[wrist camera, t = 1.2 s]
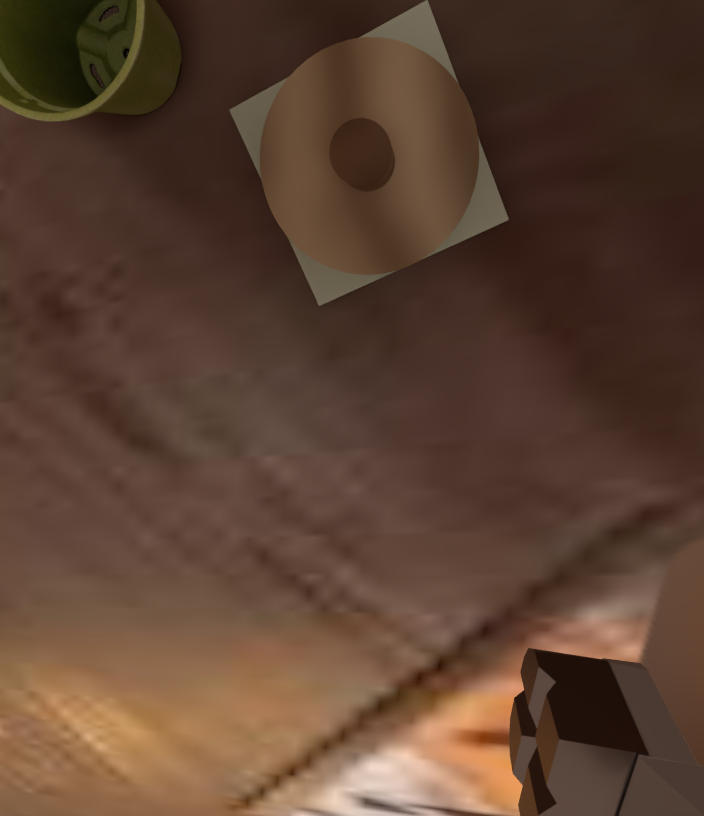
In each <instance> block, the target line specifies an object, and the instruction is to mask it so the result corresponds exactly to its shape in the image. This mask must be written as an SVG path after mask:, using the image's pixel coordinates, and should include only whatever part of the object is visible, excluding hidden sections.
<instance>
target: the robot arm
mask: <svg viewBox="0 0 704 816" xmlns="http://www.w3.org/2000/svg"><path fill="white" fill-rule="evenodd" d="M521 677H522V681H523V686H524V691H523V692H521V693H520V694H519V695H517V696H516V697H515V698H514V702H513V707H512V712H511V717H510V731H509V747H510V759H511V765H512V771H513V774H514V775H515V776H516V778H517V779H518V780H519V781H520V782H521V784H522V785H523V787H522V791H521V796H520V800H519V804H518V806H519V812H520V816H704V766H701V765H698V763H697V761H696V759H695V758H694V756H693V754H692V752H691V750H690V748H689V746H688V744H687V742H686V741H685V739H684V737H683V735H682V733H681V731H680V730H679V728H678V726H677V724H676V722H675V720H674V718H673V716H672V714H671V713H670V711H669V709H668V707H667V705H666V703H665V701H664V699H663V698H662V696H661V694H660V692H659V690H658V688H657V686H656V684H655V683H654V681H653V679H652V677H651V675H650V673H649V671H648V670H647V668H645V667H644V666H643V665H642V664H641V663H635V662H627V661H620V660H612V659H604V658H603V659H602V660H601V659H595V658H589V657H582V656H576V655H570V654H563V653H557V652H550V651H544V650H538V649H531V648H528V650H527V652H526V654H525V656H524V659H523V663H522V668H521Z"/></svg>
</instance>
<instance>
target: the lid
mask: <svg viewBox="0 0 704 816" xmlns="http://www.w3.org/2000/svg"><path fill="white" fill-rule="evenodd" d="M478 167H479V139H478V133H477V127H476V123H475V119H474V116H473V113H472V109H471V107H470V105H469V103H468V100H467V98H466V96H465V94H464V92H463V91H462V89H461V88H460V86H459V84H458V83H457V81H456V80H455V79H454V78H453V76H452V75H451V74H450V73H449V72H448V70H447V69H446V68H444V67H443V66H442V65H441V64H440V63H439V62H438V61H437V60H436V59H434V58H433V57H431V56H430V55H428V54H427V53H426V52H424V51H422V50H420V49H418V48H416V47H414V46H412V45H410V44H407V43H404V42H401V41H398V40H394V39H388V38H381V37H362V38H356V39H349V40H346V41H343V42H339V43H336V44H333V45H331V46H329V47H327V48H325V49H323V50H321V51H319V52H318V53H316V54H315V55H313V56H311V57H310V58H308V59H307V60H306V61H305V62H304V63H303V64H301V65H300V66H299V67H298V68H297V69H296V70H295V71H294V72H293V73H292V74H291V75H290V77H289V78H288V79H287V80H286V81H285V83H284V84H283V86H282V87H281V89H280V90H279V92H278V93H277V95H276V97H275V99H274V101H273V103H272V105H271V107H270V109H269V112H268V115H267V118H266V120H265V124H264V128H263V132H262V137H261V146H260V172H261V179H262V185H263V189H264V193H265V196H266V199H267V202H268V204H269V207H270V210H271V212H272V214H273V215H274V217H275V219H276V221H277V223H278V225H279V226H280V227H281V229H282V230H283V232H284V233H285V234H286V236H287V237H288V238H289V239H290V240H291V241H292V242H293V243H294V244H295V246H297V247H298V248H299V249H300V250H301V251H303V252H304V253H305V254H306V255H308V256H309V257H311V258H312V259H314V260H315V261H317V262H319V263H321V264H323V265H325V266H327V267H329V268H332V269H335V270H338V271H341V272H346V273H351V274H360V275H374V274H384V273H388V272H393V271H397V270H400V269H402V268H405V267H408V266H410V265H412V264H414V263H416V262H418V261H420V260H422V259H423V258H425V257H426V256H427V255H429V254H430V253H432V252H433V251H434V250H435V249H437V248H438V247H439V246H440V245H441V244H442V243H443V242H444V241H445V240H446V239H447V238H448V237H449V235H450V234H451V233H452V232H453V231H454V229H455V228H456V226H457V225H458V223H459V222H460V220H461V219H462V217H463V215H464V213H465V211H466V209H467V207H468V205H469V203H470V200H471V197H472V194H473V192H474V189H475V184H476V180H477V175H478Z"/></svg>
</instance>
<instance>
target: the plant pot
mask: <svg viewBox="0 0 704 816" xmlns="http://www.w3.org/2000/svg"><path fill="white" fill-rule="evenodd" d="M113 6H118V8H119V12H118V13H115V14H113V15H111V16H109V17H107V18H106V19H105V20H104V19H103V20H102V22H100V21H99V20H100V17H101V15H102V14H103V13H104V11H106V10H107V9H108V8H110V7H113ZM125 49H129V50H130V51H129V54H128V57H127V59H126V58H125V57H124V55H123V51H124V50H125ZM181 61H182V56H181V47H180V42H179V38H178V35H177V33H176V30H175V28H174V26H173V24H172V22H171V21H170V19H169V18H168V16H167V15H166V13H165V12H164V11H163V9H162V8H161V6H160V5H159V3H158V2H157V1H156V0H0V104H1V105H2V106H4V107H6V108H7V109H9V110H11V111H13V112H15V113H17V114H20V115H22V116H25V117H27V118H31V119H35V120H40V121H48V122H63V121H70V120H75V119H79V118H82V117H85V116H87V115H89V114H92V113H93V112H105V113H115V114H126V115H140V114H145V113H149V112H151V111H153V110H155V109H157V108H159V107H160V106H161V105H162V104H164V103H165V102H166V101H167V99H168V98H169V97H170V96H171V95H172V93H173V91H174V89H175V87H176V83H177V79H178V75H179V70H180V65H181ZM91 64H94V65H95V67H96V70H97V72H98V74H99V76H100V78H101V80H102V82H103V83H104V84H105V86H104V88H103V87H102V88H101V87H99V85H98V83H97V82H96V79H95V78H94V77H93V76H92V73H91V70H90V65H91Z"/></svg>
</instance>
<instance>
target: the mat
mask: <svg viewBox="0 0 704 816" xmlns="http://www.w3.org/2000/svg"><path fill="white" fill-rule="evenodd" d="M362 37H381V38H388V39H394V40H398V41H401V42H404V43H407V44H410V45H412V46H414V47H416V48H418V49H420V50H422V51H424V52H426V53H427V54H428V55H430V56H431V57H433V58H434V59H436V60H437V61H438V62H439V63H440V64H441V65H442V66H443V67H444V68H446V69H447V70H448V72H449V73H450V74H451V75H452V76H453V78H454V79H455V80H456V81H457V78H456V76H455V73H454V70H453V67H452V65H451V62H450V59H449V57H448V54H447V51H446V49H445V46H444V43H443V40H442V38H441V35H440V32H439V30H438V27H437V24H436V22H435V19H434V16H433V13H432V11H431V8H430V5H429V3H428V0H426V1H424V2H422V3H421V4H419V5H417V6H415V7H413V8H412V9H410V10H408V11H406V12H404V13H403V14H401V15H399V16H397V17H395V18H394V19H392V20H390V21H388V22H386V23H385V24H383V25H381V26H379V27H377V28H376V29H374V30H372V31H370V32H368V33H367V34H365V35H363V36H361V37H359V38H362ZM289 77H290V76H289ZM289 77H287V78H286V79H284V80H282V81H280V82H278V83H277V84H275V85H273V86H271V87H269V88H268V89H266V90H264V91H262V92H260V93H259V94H257V95H255V96H253V97H251V98H250V99H248V100H246V101H244V102H242V103H241V104H239V105H237V106H235V107H233V108H232V109H230V113H231V115H232V117H233V119H234V121H235V124H236V126H237V128H238V130H239V132H240V134H241V137H242V139H243V141H244V143H245V145H246V148H247V150H248V152H249V154H250V156H251V158H252V161H253V163H254V165H255V167H256V169H257V172H258V174H259V176H260V178H261V172H260V146H261V137H262V132H263V128H264V124H265V120H266V118H267V115H268V112H269V109H270V107H271V105H272V103H273V101H274V99H275V97H276V95H277V93H278V92H279V90H280V89H281V87H282V86H283V84H284V83H285V81H286V80H287V79H288V78H289ZM457 83H458V81H457ZM478 139H479V138H478ZM261 180H262V179H261ZM508 220H509V219H508V216H507V213H506V210H505V208H504V205H503V202H502V200H501V197H500V194H499V192H498V189H497V186H496V184H495V181H494V178H493V175H492V173H491V170H490V167H489V165H488V162H487V159H486V157H485V154H484V151H483V148H482V146H481V143H480V140H479V167H478V175H477V180H476V184H475V189H474V192H473V194H472V197H471V200H470V203H469V205H468V207H467V209H466V211H465V213H464V215H463V217H462V219H461V220H460V222H459V223H458V225H457V226H456V228H455V229H454V231H453V232H452V233H451V234H450V235H449V237H448V238H447V239H446V240H445V241H444V242H443V243H442V244H441V245H440V246H439V247H438V248H437V249H435V250H434V251H433V252H432V253H430V254H429V255H427V256H426V257H428V256H431V255H433V254H435V253H437V252H439V251H442V250H444V249H446V248H448V247H450V246H453V245H455V244H457V243H459V242H461V241H464V240H466V239H468V238H470V237H472V236H475V235H477V234H479V233H481V232H483V231H486V230H488V229H490V228H492V227H494V226H497V225H499V224H501V223H503V222H505V221H508ZM288 239H289V238H288ZM289 241H290V244H291V246H292V248H293V250H294V252H295V254H296V257H297V259H298V261H299V263H300V265H301V268H302V270H303V272H304V274H305V276H306V278H307V281H308V283H309V285H310V287H311V289H312V292H313V294H314V296H315V298H316V300H317V302H318V305H319V306H320V305H323V304H325V303H327V302H329V301H331V300H334V299H336V298H338V297H340V296H342V295H345V294H347V293H349V292H351V291H354V290H356V289H358V288H360V287H362V286H365V285H367V284H369V283H371V282H373V281H376V280H378V279H380V278H382V277H384V276H387V275H389V274H391V273H393V272H395V271H393V272H388V273H384V274H374V275H360V274H351V273H346V272H341V271H338V270H335V269H332V268H329V267H327V266H325V265H323V264H321V263H319V262H317V261H315V260H314V259H312V258H311V257H309V256H308V255H306V254H305V253H304V252H303V251H301V250H300V249H299V248H298V247H297V246H295V244H294V243H293V242H292V241H291V240H290V239H289ZM426 257H425V258H426ZM423 259H424V258H423ZM397 271H398V270H397Z"/></svg>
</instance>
